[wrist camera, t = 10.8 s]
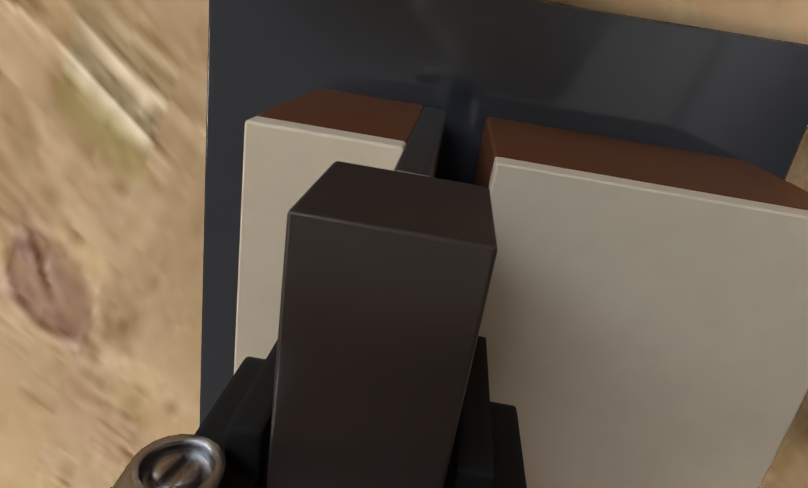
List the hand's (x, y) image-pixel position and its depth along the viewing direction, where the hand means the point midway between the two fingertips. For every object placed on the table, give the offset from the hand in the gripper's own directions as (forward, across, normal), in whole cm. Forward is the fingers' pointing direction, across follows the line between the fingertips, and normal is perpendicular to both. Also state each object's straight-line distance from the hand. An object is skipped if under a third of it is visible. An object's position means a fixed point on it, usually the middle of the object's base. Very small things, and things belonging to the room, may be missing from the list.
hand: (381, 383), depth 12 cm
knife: (+5, 0, 0) cm, 5 cm away
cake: (+6, -5, 0) cm, 8 cm away
